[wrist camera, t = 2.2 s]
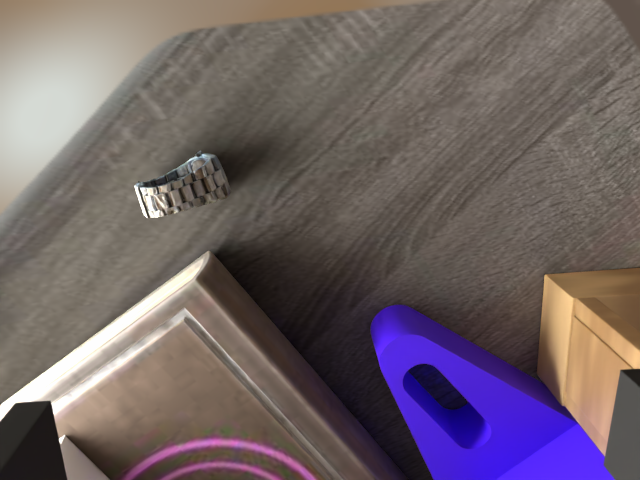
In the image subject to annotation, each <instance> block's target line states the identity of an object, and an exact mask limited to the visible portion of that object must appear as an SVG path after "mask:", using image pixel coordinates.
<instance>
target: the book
mask: <svg viewBox="0 0 640 480" xmlns="http://www.w3.org/2000/svg"><path fill="white" fill-rule="evenodd" d="M33 401H51V404H52V409H53V414H54V418H55V423H56V428H57V433H58V437H59V439H60V438H61V437H63V436H66V437H67V438H68V439H69V440H70V441H71V442H72V443H73V444H74V445H75V446H76V447H77V448H78V449H79V450H80V451H81V452H82V453H84V454H85V455H86V456H87V457H88V458H89V459H90V460H91V461H92V462H93V463H94V464H95V465H96V466H97V467H98V468H99V469H100V470H101V471H102V472H103V473H104V474H105V475H106V476H107V477H108V478H109V479H110V480H409V479H408V478H407V477H406V476H405V475H404V473H403V472H402V471H401V470H400V469H399V468H398V467H397V465H396V464H395V463H394V462H393V461H392V460H391V458H390V457H389V456H388V455H387V454H386V453H385V452H384V450H383V449H382V448H381V447H380V446H379V445H378V443H377V442H376V441H375V440H374V439H373V438H372V437H371V435H370V434H369V433H368V432H367V431H366V430H365V428H364V427H363V426H362V425H361V424H360V423H359V422H358V420H357V419H356V418H355V417H354V416H353V415H352V413H351V412H350V411H349V410H348V409H347V408H346V407H345V405H344V404H343V403H342V402H341V401H340V400H339V398H338V397H337V396H336V395H335V394H334V393H333V392H332V390H331V389H330V388H329V387H328V386H327V385H326V383H325V382H324V381H323V380H322V379H321V378H320V377H319V375H318V374H317V373H316V372H315V371H314V370H313V368H312V367H311V366H310V365H309V364H308V363H307V362H306V360H305V359H304V358H303V357H302V356H301V355H300V353H299V352H298V351H297V350H296V349H295V348H294V347H293V345H292V344H291V343H290V342H289V341H288V340H287V338H286V337H285V336H284V335H283V334H282V333H281V332H280V330H279V329H278V328H277V327H276V326H275V325H274V323H273V322H272V321H271V320H270V319H269V318H268V317H267V315H266V314H265V313H264V312H263V311H262V310H261V308H260V307H259V306H258V305H257V304H256V303H255V302H254V300H253V299H252V298H251V297H250V296H249V295H248V293H247V292H246V291H245V290H244V289H243V288H242V287H241V285H240V284H239V283H238V282H237V281H236V280H235V278H234V277H233V276H232V275H231V274H230V273H229V272H228V270H227V269H226V268H225V267H224V266H223V265H222V263H221V262H220V261H219V260H218V259H217V258H216V257H215V255H214V254H213V253H212V252H211V251H208V252H206V253H205V254H203V255H202V256H201V257H199V258H198V259H197V260H195V261H194V262H193V263H191V264H190V265H189V266H187V267H186V268H185V269H183V270H182V271H180V272H179V273H178V274H176V275H175V276H174V277H172V278H171V279H170V280H168V281H167V282H166V283H164V284H163V285H162V286H160V287H159V288H157V289H156V290H155V291H153V292H152V293H151V294H149V295H148V296H147V297H145V298H144V299H143V300H141V301H140V302H139V303H137V304H136V305H134V306H133V307H132V308H130V309H129V310H128V311H126V312H125V313H124V314H122V315H121V316H120V317H118V318H117V319H116V320H114V321H113V322H112V323H110V324H109V325H107V326H106V327H105V328H103V329H102V330H101V331H99V332H98V333H97V334H95V335H94V336H93V337H91V338H90V339H89V340H87V341H86V342H84V343H83V344H82V345H80V346H79V347H78V348H76V349H75V350H74V351H72V352H71V353H70V354H68V355H67V356H66V357H64V358H63V359H61V360H60V361H59V362H57V363H56V364H55V365H53V366H52V367H51V368H49V369H48V370H47V371H45V372H44V373H43V374H41V375H40V376H38V377H37V378H36V379H34V380H33V381H32V382H30V383H29V384H28V385H26V386H25V387H24V388H22V389H21V390H20V391H18V392H17V393H16V394H14V395H13V396H11V397H10V398H9V399H7V400H6V401H5V402H3V403H2V404H1V405H0V421H1V420H2V418H3V417H4V416H5V415H6V414H7V412H8V411H9V410H10V409H11V407H12V406H13V405H14V404H15V402H33Z"/></svg>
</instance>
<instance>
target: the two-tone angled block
mask: <svg viewBox="0 0 640 480" xmlns="http://www.w3.org/2000/svg"><path fill="white" fill-rule="evenodd" d="M624 369H640V268H627V269H614V270H600V271H586V272H572V273H559V274H545V277H544V290H543V302H542V315H541V327H540V339H539V352H538V364H537V375H538V376H539V377H540V379H541V380H542V381H543V382H544V384H545V385H546V386H547V388H548V389H549V390H550V391H551V393H552V394H553V395H554V397H555V398H556V399H557V400H558V402H559V403H560V404H561V406H565V407H566V408H567V409H568V411H569V412H570V413H571V414H572V416H573V417H574V418H575V419H576V421H577V422H578V423H579V425H580V426H581V427H582V428H583V430H584V431H585V432H586V433H587V435H588V436H589V437H590V439H591V440H592V441H593V442H594V444H595V445H596V446H597V447H598V449H599V450H600V451H601V453H602V454H603V455H604V456H605V453H606V448H607V442H608V437H609V431H610V425H611V420H612V414H613V409H614V403H615V397H616V392H617V386H618V381H619V375H620V370H624Z"/></svg>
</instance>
